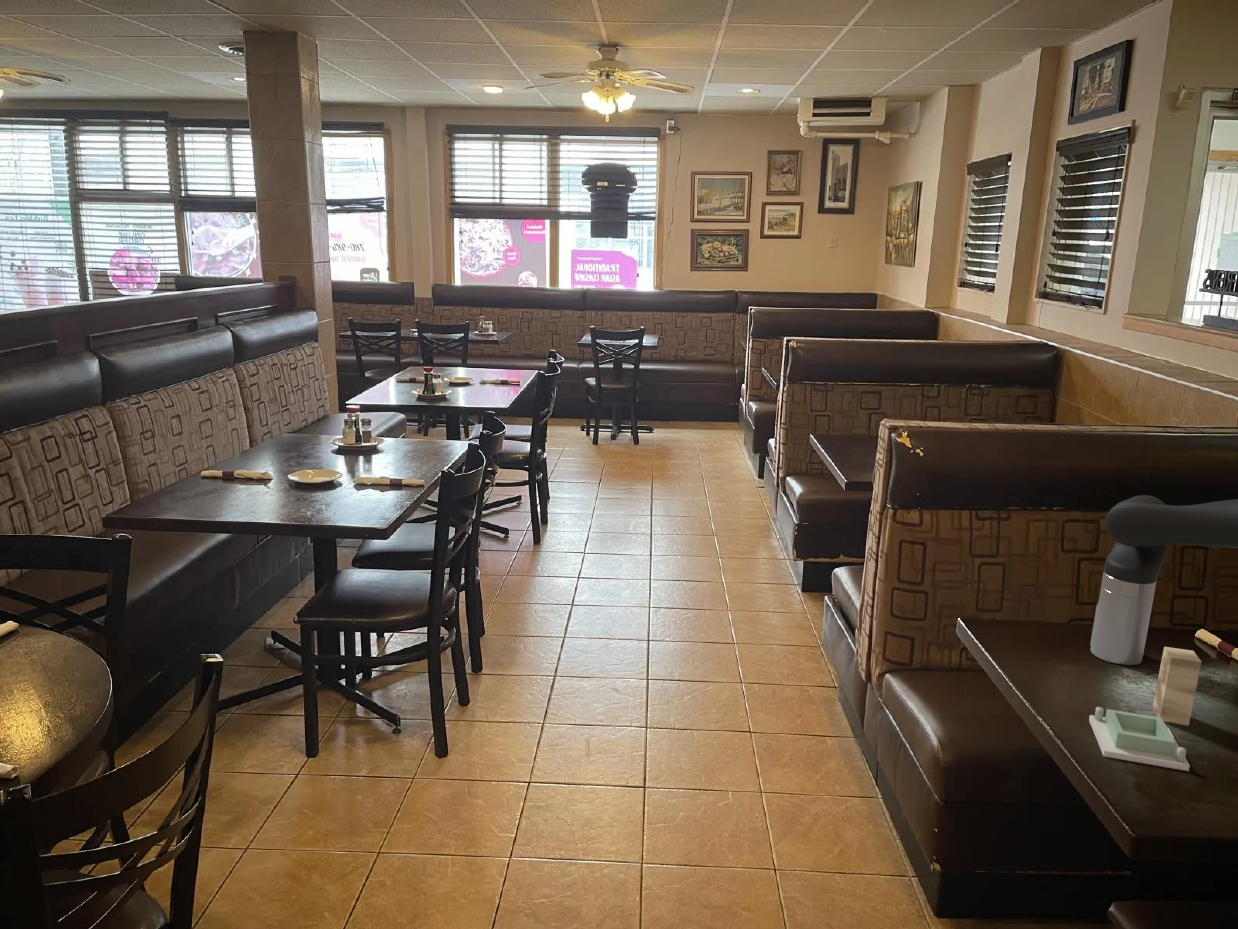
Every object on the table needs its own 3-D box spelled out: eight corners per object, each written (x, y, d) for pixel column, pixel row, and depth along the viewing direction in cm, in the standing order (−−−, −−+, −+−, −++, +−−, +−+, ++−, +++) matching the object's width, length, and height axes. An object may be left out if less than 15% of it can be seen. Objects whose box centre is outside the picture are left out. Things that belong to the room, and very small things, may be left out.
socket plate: (1088, 720, 152) (1092, 701, 151) (1167, 733, 149) (1171, 714, 148) (1103, 756, 141) (1107, 736, 140) (1188, 771, 137) (1192, 751, 137)
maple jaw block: (1152, 708, 157) (1164, 646, 154) (1181, 713, 156) (1193, 650, 153) (1159, 721, 153) (1171, 657, 150) (1188, 725, 151) (1201, 661, 149)
